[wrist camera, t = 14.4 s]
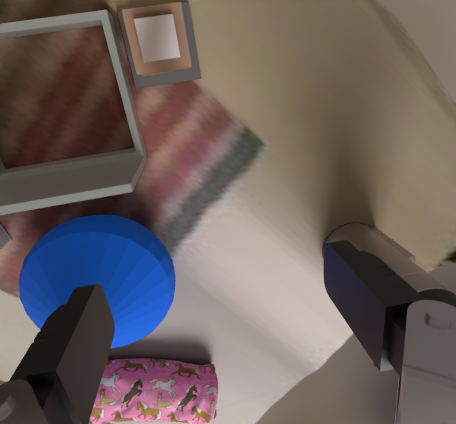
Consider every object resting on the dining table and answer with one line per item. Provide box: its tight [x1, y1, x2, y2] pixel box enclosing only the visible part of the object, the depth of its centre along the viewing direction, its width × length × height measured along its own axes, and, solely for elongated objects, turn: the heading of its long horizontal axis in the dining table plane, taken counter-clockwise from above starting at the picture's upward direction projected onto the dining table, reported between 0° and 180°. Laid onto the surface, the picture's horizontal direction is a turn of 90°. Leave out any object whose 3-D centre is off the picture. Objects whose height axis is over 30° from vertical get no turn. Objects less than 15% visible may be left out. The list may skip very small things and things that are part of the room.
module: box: [121, 2, 192, 76], centre depth 32 cm, size 6×6×8 cm
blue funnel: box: [19, 214, 175, 349], centre depth 37 cm, size 18×18×19 cm
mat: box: [117, 2, 201, 88], centre depth 36 cm, size 8×8×1 cm
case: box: [0, 10, 148, 215], centre depth 31 cm, size 19×16×14 cm
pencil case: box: [90, 358, 218, 424], centre depth 52 cm, size 21×9×9 cm, turn 79°
